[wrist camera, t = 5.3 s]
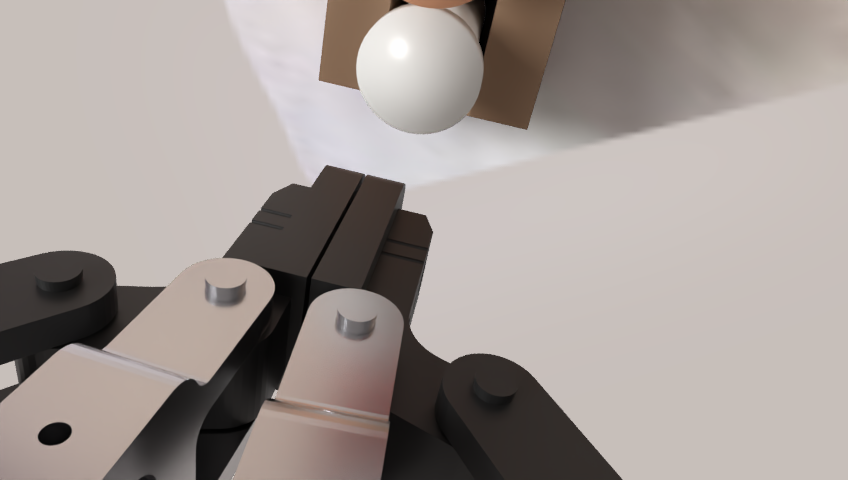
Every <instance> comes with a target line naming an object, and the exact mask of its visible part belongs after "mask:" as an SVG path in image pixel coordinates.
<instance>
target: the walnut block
mask: <svg viewBox="0 0 848 480" xmlns="http://www.w3.org/2000/svg"><path fill="white" fill-rule="evenodd" d="M564 3H565V0H497V3H496V7H495V11H494V15H493V19H492V23H491V27H490V31H489V36H488V40H487V44H486V48H485V52H484V56H483V61H484V73H483V79H482V84H481V88H480V92H479V95H478V98H477V100H476V102H475V104H474V105H473V107H472V108H471V110H470V111H469V112H468V114H467V116H471V117H475V118H479V119H484V120H488V121H492V122H496V123H500V124H505V125H509V126H513V127H517V128H522V129H526V130H527V128H528V125H529V121H530V118H531V115H532V111H533V108H534V105H535V101H536V98H537V94H538V91H539V88H540V84H541V81H542V77H543V74H544V71H545V67H546V64H547V61H548V57H549V54H550V50H551V47H552V44H553V40H554V37H555V34H556V30H557V27H558V23H559V20H560V17H561V13H562V10H563V7H564ZM406 4H408V2H406V1H404V0H328V3H327V12H326V20H325V29H324V38H323V47H322V56H321V64H320V73H319V81H323V82H328V83H332V84H336V85H340V86H345V87H349V88H353V89H357V90H360V88H359V85H358V81H357V74H356V64H357V56H358V52H359V49H360V46H361V43H362V42H363V40H364V38H365V36H366V35H367V33H368V32H369V30H370V29H371V28H372V27H373V26H374V25H375V23H376V22H377V21H378V20H379V19H380V18H381V17H383V16H384V15H385V14H386V13H388V12H389V11H391V10H393V9H395V8H397V7H400V6H402V5H406Z"/></svg>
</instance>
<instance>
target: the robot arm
mask: <svg viewBox="0 0 848 480" xmlns="http://www.w3.org/2000/svg"><path fill="white" fill-rule="evenodd" d="M404 193H405V184H404V183H400V182H396V181H392V180H387V179H383V178H379V177H375V176H371V175H367V176H366V177H365V174H362V173H358V172H354V171H349V170H345V169H341V168H337V167H333V166H329V165H327V166H325V168H324V169H323V170H322V172H321V173H320V175H319V176H318V178H317V179H316V181H315V182H314V184H313V185H312V187H311V188H310V187H306V186H301V185H297V184H291V185H289V186H287V187H285V188H283V189H281V190H279V191H277V192H274V193H273V194H272V195H271V196H270V197H269V199H268V200H267V201H266V202H265V204H264V205H263V206H262V208H261V211H259V212H258V213H257V214H256V215H255V217H254V218H253V219H252V223H249V224H248V226H247V227H246V228H245V229H244V231H243V232H242V234H241V235H240V236H239V237H238V238H237V240H236V241H235V242H234V244H233V245H232V246H231V248H230V249H229V250H228V251H227V253H226V254H225V255H224V256H223V258H216V259H209V260H205V261H201V262H198V263H196V264H193V265H191V266H190V267H188V268H186V269H185V270H184V271H183V272H181V273H180V274H179V275H178V276H177V277H176V278H175V279H174V280H173V281H172V282H171V283H170V284H169V285H168V286H167V287H136V286H117V284H116V274H115V270H114V268H113V266H112V265H111V264H110V263H109V262H108V261H106V260H105V259H103V258H101V257H99V256H97V255H94V254H90V253H86V252H80V251H56V252H48V253H43V254H39V255H35V256H30V257H26V258H22V259H18V260H14V261H10V262H6V263H2V264H0V365H2V364H5V363H8V362H11V361H14V360H15V366H16V371H17V376H18V382H19V384H16V385H14V386H10V387H8V388H5V389H2V390H0V480H231V479H232V477H233V476H234V478H233V480H622V479H621V477H620V476H619V475H618V474H617V473H616V472H615V470H614V469H613V468H612V467H611V466H610V465H609V464H608V462H607V461H606V460H605V459H604V458H603V457H602V455H601V454H600V453H599V452H598V451H597V450H596V449H595V447H594V446H593V445H592V444H591V443H590V442H589V440H587V438H586V437H585V436H584V435H583V434H582V432H581V431H580V430H579V429H578V428H577V427H576V425H575V424H574V423H573V422H572V421H571V420H570V419H569V418H568V416H567V415H566V414H565V413H564V412H563V410H562V409H561V408H560V407H559V406H558V405H557V404H556V402H555V401H554V400H553V399H552V398H551V397H550V396H549V394H548V393H547V392H546V391H545V390H544V389H543V387H542V386H541V385H540V384H539V383H538V382H537V380H536V379H535V378H534V377H533V376H532V375H531V374H530V373H529V372H528V371H526V370H525V369H524V368H522V367H521V366H520V365H518V364H516V363H514V362H512V361H510V360H508V359H505V358H503V357H500V356H496V355H491V354H470V355H465V356H463V357H459V358H458V359H456V360H454V361H453V362H452V363H448V362H446V361H444V360H442V359H440V358H439V357H437V356H435V355H433V354H432V353H430V352H429V351H428V350H426V349H425V348H424V347H423V346H422V345H421V344H420V343H419V342H418V341H417V339H416V338H415V337H414V335H413V333H412V331H411V329H410V325H411V321H412V317H413V314H414V310H415V306H416V303H417V299H418V295H419V291H420V287H421V282H422V277H423V273H424V269H425V265H426V260H427V256H428V251H429V247H430V243H431V238H432V234H433V231H432V229H431V226H430V224H429V222H428V219H427V217H426V215H422V214H418V213H413V212H409V211H405V210H401V209H402V203H403V198H404ZM275 389H276V390H278V392H277V395H276V397H275V399H271V397H272V395H273V393H274V391H275ZM235 472H236V473H235ZM234 474H235V475H234Z"/></svg>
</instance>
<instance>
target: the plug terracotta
mask: <svg viewBox="0 0 848 480" xmlns="http://www.w3.org/2000/svg"><path fill="white" fill-rule="evenodd" d="M404 1H406V2H408V3H410V4H413V5H417V6H420V7H425V8H434V9H443V8H452V7H456V6H460V5H463V4H465V3H468V2H470V1H472V0H404Z"/></svg>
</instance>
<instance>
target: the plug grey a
mask: <svg viewBox="0 0 848 480" xmlns="http://www.w3.org/2000/svg"><path fill="white" fill-rule="evenodd" d="M485 16H486V6H485V1H484V0H472V1H470V2H468V3H465V4H463V5H460V6H456V7H452V8H443V9H434V8H425V7H420V6H417V5H413V4H410V3H408V4H406V5H402V6H400V7H397V8H395V9H393V10H391V11H389V12H388V13H386V14H385V15H384V16H383V17H381V18H380V19H379V20H378V21H377V22H376V23H375V25H374V26H373V27H372V28H371V29H370V30H369V32H368V33H367V35H366V36H365V38H364V40H363V42H362V43H361V46H360V49H359V52H358V56H357V64H356V74H357V81H358V85H359V88H360V91H361V94H362V96H363V98H364V100H365V102H366V103H367V105H368V106H369V108H370V109H371V110H372V111H373V113H375V114H376V115H377V116H378V117H379V118H380V119H381V120H382V121H384V122H385V123H386V124H388V125H390V126H392V127H394V128H396V129H398V130H401V131H404V132H407V133H413V134H431V133H436V132H440V131H443V130H446V129H448V128H450V127H452V126H453V125H455V124H456V123H458V122H459V121H460V120H462V119H463V118H464V117H465V116H466V115H467V114H468V112H469V111H470V110H471V108H472V107H473V105H474V104H475V102H476V100H477V98H478V95H479V92H480V88H481V84H482V79H483V73H484V61H483V54H482V50H481V47H480V44H479V40H480V36H481V33H482V29H483V25H484V21H485Z"/></svg>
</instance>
